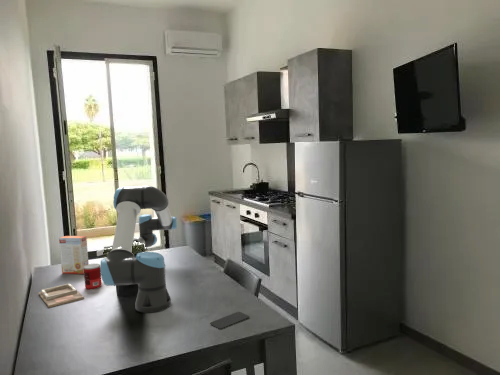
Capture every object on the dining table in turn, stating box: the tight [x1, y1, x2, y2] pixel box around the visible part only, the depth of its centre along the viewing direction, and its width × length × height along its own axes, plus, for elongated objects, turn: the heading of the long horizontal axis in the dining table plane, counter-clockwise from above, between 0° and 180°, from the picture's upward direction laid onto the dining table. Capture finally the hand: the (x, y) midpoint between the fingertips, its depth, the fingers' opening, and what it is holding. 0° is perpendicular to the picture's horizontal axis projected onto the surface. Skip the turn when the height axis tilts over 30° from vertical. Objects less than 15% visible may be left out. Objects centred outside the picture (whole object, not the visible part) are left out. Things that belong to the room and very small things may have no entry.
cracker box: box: [58, 235, 89, 275], centre depth 225 cm, size 14×6×21 cm, turn 77°
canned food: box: [83, 263, 102, 290], centre depth 200 cm, size 8×8×11 cm
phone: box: [209, 311, 250, 330], centre depth 155 cm, size 7×1×15 cm
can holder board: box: [38, 283, 85, 309], centre depth 188 cm, size 22×15×2 cm
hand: (106, 254), depth 208 cm, fingers open, 13 cm apart
